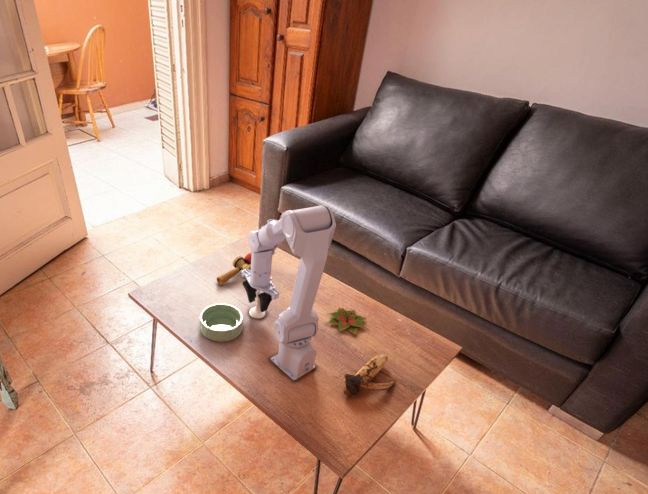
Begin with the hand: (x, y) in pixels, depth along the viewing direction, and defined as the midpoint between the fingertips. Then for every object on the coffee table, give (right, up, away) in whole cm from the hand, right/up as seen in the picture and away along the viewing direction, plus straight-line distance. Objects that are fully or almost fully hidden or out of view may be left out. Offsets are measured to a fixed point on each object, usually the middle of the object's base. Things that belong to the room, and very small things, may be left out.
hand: (257, 305), depth 129 cm
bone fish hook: (+28, -20, -18) cm, 39 cm away
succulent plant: (+27, -5, -1) cm, 27 cm away
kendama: (-5, +11, +17) cm, 21 cm away
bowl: (-11, -7, -4) cm, 13 cm away
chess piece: (0, -2, +2) cm, 3 cm away
